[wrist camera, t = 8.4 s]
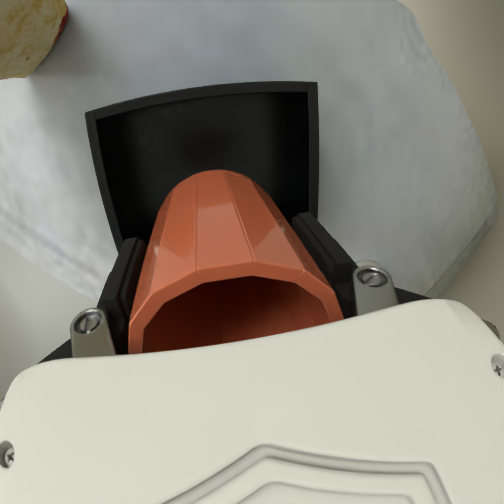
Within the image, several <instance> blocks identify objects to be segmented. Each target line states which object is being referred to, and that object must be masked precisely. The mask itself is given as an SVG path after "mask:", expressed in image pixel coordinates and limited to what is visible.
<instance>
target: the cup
mask: <svg viewBox="0 0 504 504" xmlns="http://www.w3.org/2000/svg"><path fill="white" fill-rule="evenodd" d="M343 319H344V316H343V313H342V311H341V308H340V305H339V302H338V300H337V297H336V294H335V292H334V290H333V289H332V287H331V286H330V284H329V282H328V281H327V279H326V278H325V276H324V275H323V273H322V272H321V270H320V269H319V267H318V266H317V264H316V263H315V261H314V260H313V258H312V257H311V255H310V254H309V252H308V251H307V249H306V248H305V246H304V245H303V243H302V242H301V240H300V239H299V238H298V236H297V235H296V233H295V232H294V230H293V229H292V227H291V226H290V224H289V223H288V222H287V220H286V219H285V217H284V216H283V214H282V213H281V212H280V210H279V209H278V207H277V206H276V205H275V203H274V202H273V200H272V199H271V198H270V196H269V195H268V194H267V193H266V192H265V191H264V190H263V189H262V188H261V187H260V186H259V185H258V184H257V183H256V182H254V181H253V180H252V179H250V178H248V177H246V176H244V175H242V174H239V173H236V172H233V171H227V170H209V171H204V172H200V173H197V174H194V175H192V176H190V177H188V178H186V179H185V180H183V181H182V182H180V183H179V184H178V185H177V186H175V187H174V188H173V189H172V190H171V192H170V193H169V194H168V195H167V197H166V199H165V200H164V202H163V204H162V206H161V208H160V210H159V212H158V215H157V218H156V222H155V225H154V228H153V231H152V235H151V238H150V241H149V245H148V248H147V252H146V255H145V259H144V263H143V266H142V270H141V274H140V278H139V282H138V286H137V290H136V294H135V299H134V303H133V307H132V312H131V317H130V321H129V333H128V353H129V354H140V353H151V352H161V351H171V350H180V349H189V348H197V347H204V346H211V345H218V344H225V343H231V342H238V341H244V340H249V339H255V338H261V337H266V336H271V335H276V334H281V333H286V332H291V331H296V330H300V329H305V328H309V327H314V326H318V325H323V324H327V323H331V322H335V321H339V320H343Z"/></svg>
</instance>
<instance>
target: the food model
mask: <svg viewBox="0 0 504 504" xmlns="http://www.w3.org/2000/svg"><path fill="white" fill-rule="evenodd" d="M67 19H68V7H67V5H66V3H65V0H0V80H1V79H7V78H15V77H16V78H26V77H27V76H29V75H30V74H31V73H32V72H33V71H34V70H35V69H36V68H37V67H38V66H39V65H40V64H41V62H42V61H43V60H44V58H45V57H46V56H47V54H48V53H49V52H50V50H51V49H52V48H53V46H54V45H55V43H56V42H57V40H58V38H59V36H60V35H61V32H62V31H63V29H64V27H65V25H66V23H67Z"/></svg>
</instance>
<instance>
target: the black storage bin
mask: <svg viewBox="0 0 504 504" xmlns="http://www.w3.org/2000/svg"><path fill="white" fill-rule="evenodd" d="M85 118H86V125H87V131H88V137H89V142H90V148H91V153H92V158H93V163H94V167H95V172H96V176H97V181H98V185H99V189H100V193H101V197H102V201H103V204H104V208H105V212H106V215H107V219H108V222H109V225H110V229H111V232H112V235H113V238H114V242H115V245H116V248H117V251H118V254H119V252H120V250H121V248H122V246H123V243H124V241H125V239H129V238H135V237H139V239H140V240H144V242H145V245H146V249H147V248H148V245H149V241H150V238H151V235H152V231H153V228H154V225H155V222H156V218H157V215H158V212H159V210H160V208H161V206H162V204H163V202H164V200H165V199H166V197H167V195H168V194H169V193H170V192H171V190H172V189H173V188H174V187H175V186H177V185H178V184H179V183H180V182H182V181H183V180H185V179H186V178H188V177H190V176H192V175H194V174H197V173H200V172H204V171H209V170H227V171H233V172H236V173H239V174H242V175H244V176H246V177H248V178H250V179H252V180H253V181H254V182H256V183H257V184H258V185H259V186H260V187H261V188H262V189H263V190H264V191H265V192H266V193H267V194H268V195H269V196H270V198H271V199H272V200H273V202H274V203H275V205H276V206H277V207H278V209H279V210H280V212H281V213H282V214H283V216H284V217H285V219H286V220H287V222H288V223H289V224H290V226H291V227H292V218H293V217H296V214H298V213H307V212H310V213H311V214H312V215H313V216H314V217H315V218H316V220H317V218H318V187H319V115H318V86H317V82H301V81H268V82H244V83H230V84H219V85H210V86H202V87H194V88H187V89H181V90H175V91H169V92H164V93H158V94H153V95H149V96H144V97H139V98H135V99H131V100H127V101H123V102H119V103H115V104H112V105H108V106H105V107H101V108H98V109H95V110H92V111H89V112H86V113H85Z"/></svg>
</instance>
